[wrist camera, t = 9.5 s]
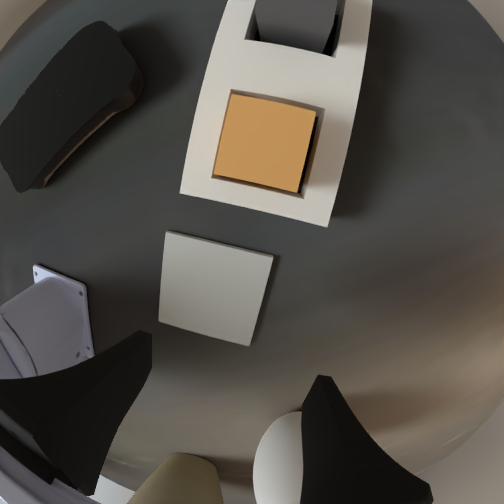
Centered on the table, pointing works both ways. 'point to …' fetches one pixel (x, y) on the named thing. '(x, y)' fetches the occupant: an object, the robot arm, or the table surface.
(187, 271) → the grey mat
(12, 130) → the black sponge
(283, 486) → the sauce bottle
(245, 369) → the table surface
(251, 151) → the orange plug
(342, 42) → the white slotted board
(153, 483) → the plant pot
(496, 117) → the table surface
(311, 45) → the dark grey block
